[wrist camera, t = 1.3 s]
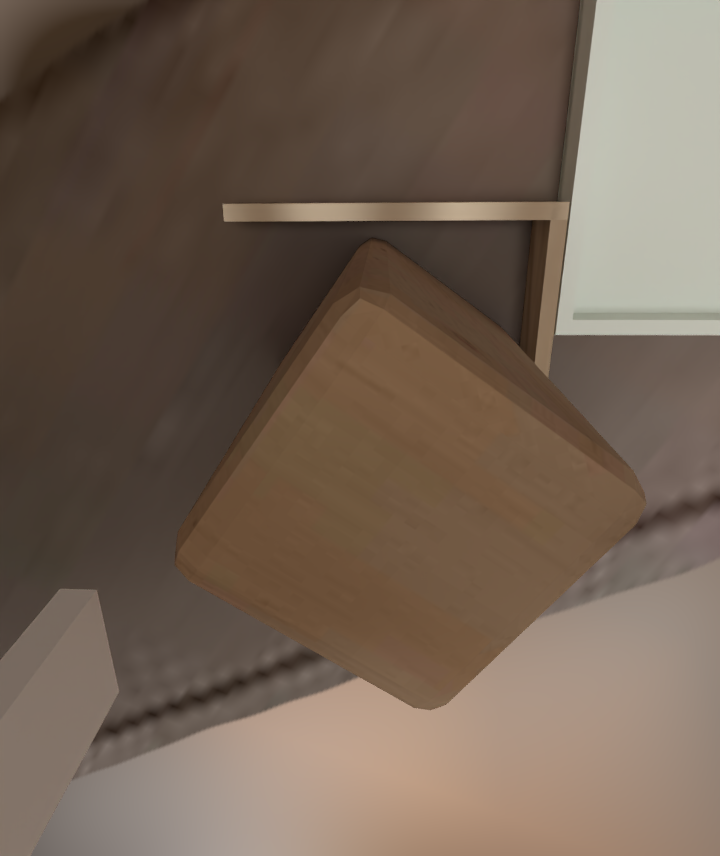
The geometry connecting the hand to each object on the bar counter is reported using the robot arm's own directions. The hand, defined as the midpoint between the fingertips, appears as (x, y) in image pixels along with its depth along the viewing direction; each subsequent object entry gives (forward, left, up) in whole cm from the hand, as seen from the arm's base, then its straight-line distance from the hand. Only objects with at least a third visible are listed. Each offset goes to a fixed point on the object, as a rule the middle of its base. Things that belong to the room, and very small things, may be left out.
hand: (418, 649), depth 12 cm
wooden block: (0, 0, -24) cm, 24 cm away
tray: (+17, +10, -24) cm, 31 cm away
